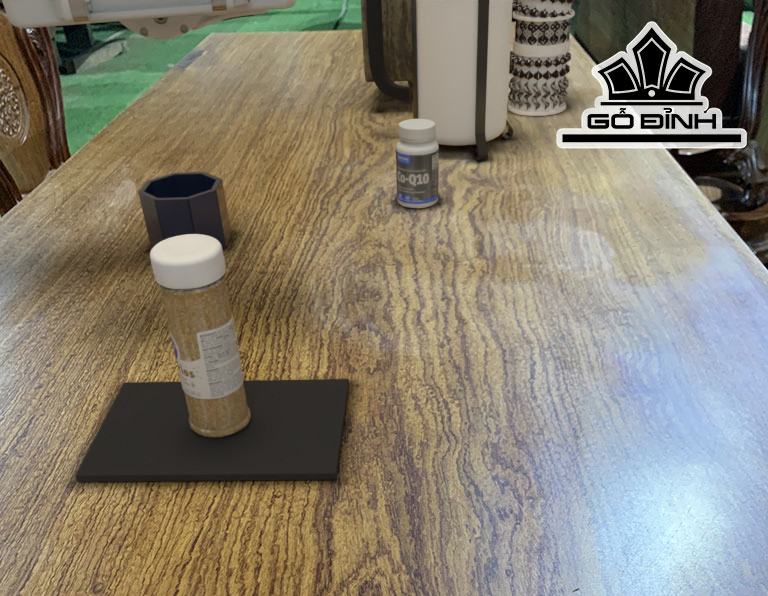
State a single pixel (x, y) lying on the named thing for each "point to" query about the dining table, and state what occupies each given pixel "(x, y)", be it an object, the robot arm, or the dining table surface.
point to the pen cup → (185, 207)
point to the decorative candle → (540, 57)
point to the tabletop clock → (391, 43)
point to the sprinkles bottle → (202, 332)
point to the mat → (221, 454)
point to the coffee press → (453, 68)
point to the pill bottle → (417, 164)
